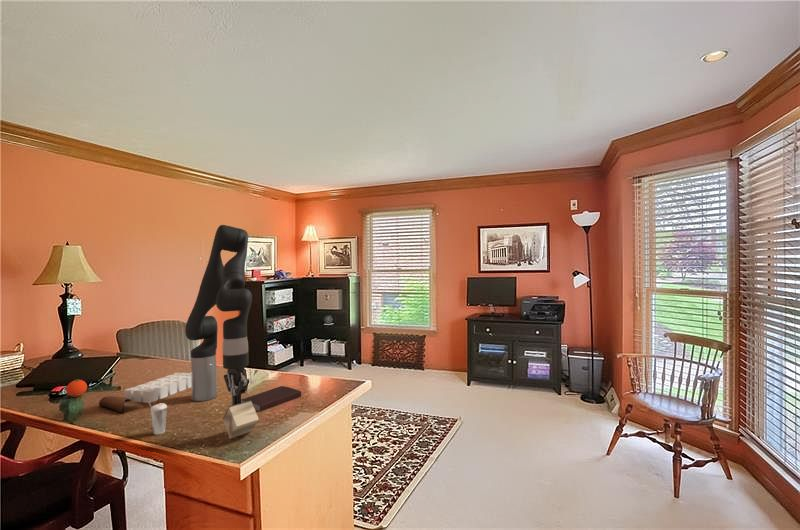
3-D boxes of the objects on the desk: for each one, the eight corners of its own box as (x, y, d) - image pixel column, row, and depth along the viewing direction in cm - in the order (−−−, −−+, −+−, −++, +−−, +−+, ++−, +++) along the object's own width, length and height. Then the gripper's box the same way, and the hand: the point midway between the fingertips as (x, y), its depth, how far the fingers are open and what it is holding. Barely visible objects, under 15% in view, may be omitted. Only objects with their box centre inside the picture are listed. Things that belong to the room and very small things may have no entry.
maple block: (228, 406, 118) (236, 426, 115) (250, 400, 123) (258, 419, 120) (222, 418, 121) (229, 438, 118) (244, 412, 127) (251, 431, 123)
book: (301, 398, 156) (301, 390, 156) (260, 413, 140) (260, 404, 140) (282, 393, 163) (281, 385, 163) (240, 407, 147) (240, 398, 147)
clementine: (66, 395, 165) (66, 379, 165) (87, 392, 170) (87, 376, 170) (65, 400, 159) (65, 383, 159) (87, 396, 163) (86, 379, 163)
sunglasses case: (146, 406, 149) (136, 394, 146) (129, 421, 143) (118, 409, 140) (122, 400, 158) (112, 388, 155) (105, 413, 152) (95, 402, 149)
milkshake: (153, 430, 126) (152, 399, 126) (170, 429, 126) (169, 398, 126) (145, 436, 121) (144, 404, 121) (163, 435, 122) (162, 403, 122)
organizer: (124, 390, 157) (191, 368, 190) (124, 401, 156) (191, 377, 190) (149, 391, 153) (213, 369, 187) (150, 403, 153) (213, 379, 187)
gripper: (257, 352, 121) (258, 407, 121) (237, 347, 130) (238, 399, 129) (233, 356, 115) (235, 414, 115) (214, 351, 124) (215, 405, 124)
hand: (236, 406), depth 122 cm, fingers closed
